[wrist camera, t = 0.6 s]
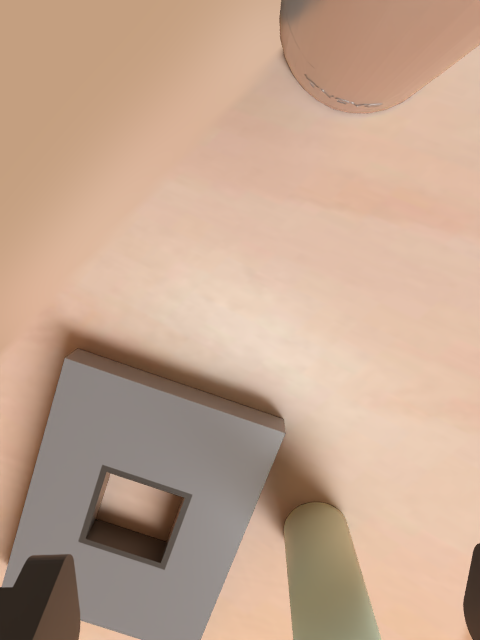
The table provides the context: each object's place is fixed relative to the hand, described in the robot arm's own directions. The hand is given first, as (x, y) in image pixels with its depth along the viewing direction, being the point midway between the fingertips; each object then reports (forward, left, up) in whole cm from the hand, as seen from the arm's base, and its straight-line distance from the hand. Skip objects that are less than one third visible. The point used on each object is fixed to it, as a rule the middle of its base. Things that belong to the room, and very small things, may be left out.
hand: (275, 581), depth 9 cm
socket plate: (+14, -4, -20) cm, 25 cm away
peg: (+12, +8, -20) cm, 25 cm away
